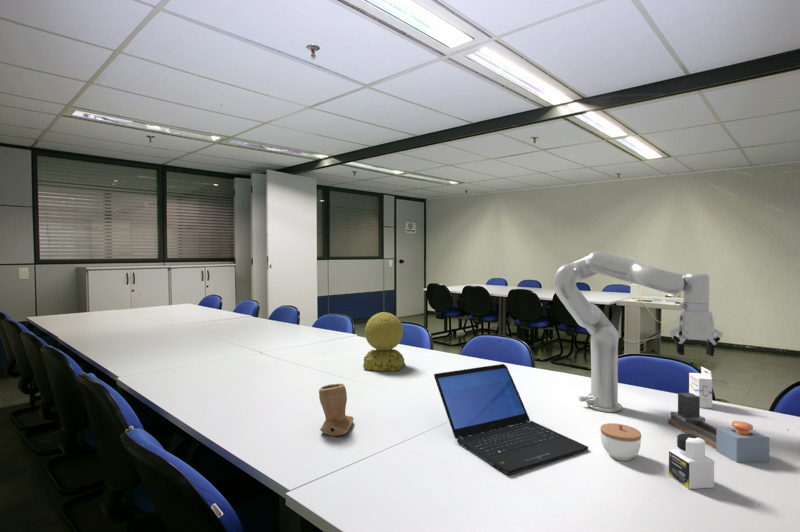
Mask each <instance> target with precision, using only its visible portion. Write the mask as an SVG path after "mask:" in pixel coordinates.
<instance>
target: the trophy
mask: <svg viewBox="0 0 800 532" xmlns="http://www.w3.org/2000/svg"><path fill="white" fill-rule="evenodd" d="M403 336H404V328H403V323H402V322H401V320H400V319H399V318H398V317H397V316H396V315H394V314H393V313H390V312H386V311H382V312H377V313H376V314H374V315H371V317H370V318H369V319H368V320H367V322H366V324H365V328H364V337H365V339H366V342H367V343H368V345H370V346H371V347H372V349H370V350H369V351H368V352H367V353H366V354H365V356H364V357H363V366H362V368H363V369H365V370H366V371H374V372H375V371H376V372H398V370H400V369H402V367H403V366H405V357H404V355H403V354H402V353H401V352H399V351H398V350H397V349H394V348H396V347H397V346H398V345H399V344H400V343H401V341H402V339H403Z"/></svg>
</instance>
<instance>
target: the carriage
mask: <svg viewBox="0 0 800 532" xmlns="http://www.w3.org/2000/svg"><path fill="white" fill-rule="evenodd" d="M672 412H673V416H675V417H677V418H679V419H681V420H683V421H685V422H690V423H692V424H694V425H699V422H701V421H703V422H705V421H706V417H704V416H702V415H701V413H700V397H699V396H697V395H694V394H692V393H689V392H678V393H677V411H672Z"/></svg>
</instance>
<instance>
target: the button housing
mask: <svg viewBox="0 0 800 532" xmlns="http://www.w3.org/2000/svg"><path fill="white" fill-rule="evenodd" d="M716 428H717V435H716V449H715V450H716V452H718V453H719V454H720V455H723V456H725V457H726V458H728V459H729V460H731V461H733V462H736V463H749V462H750V463H751V462H770V436H768V435H766V434H764V433H761V432H759V431H757V430H754V429H753V430H749V435H745V436H742V435H740V434H738V433H735V427H716Z"/></svg>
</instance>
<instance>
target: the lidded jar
mask: <svg viewBox="0 0 800 532" xmlns="http://www.w3.org/2000/svg"><path fill="white" fill-rule="evenodd" d="M600 439H601V443H602V446H603V448H604V450H605V451H606V452H607V453H608V455H609V456H610V457H611V458H613V459H615V460H617V461H623V462H624V461H625V462H626V461H631V460H632V459H634V458H635V457H636V456H637V455H638V453H639V451H640V448H641V444H642V443H641V442H642V433H641V432H640V431H639V430H638V429H637V428H635V427H633V426H629V425H626V424H622V423H614V422H613V423H612V422H611V423H610V422H609V423H605V424H602V425H600Z"/></svg>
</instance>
